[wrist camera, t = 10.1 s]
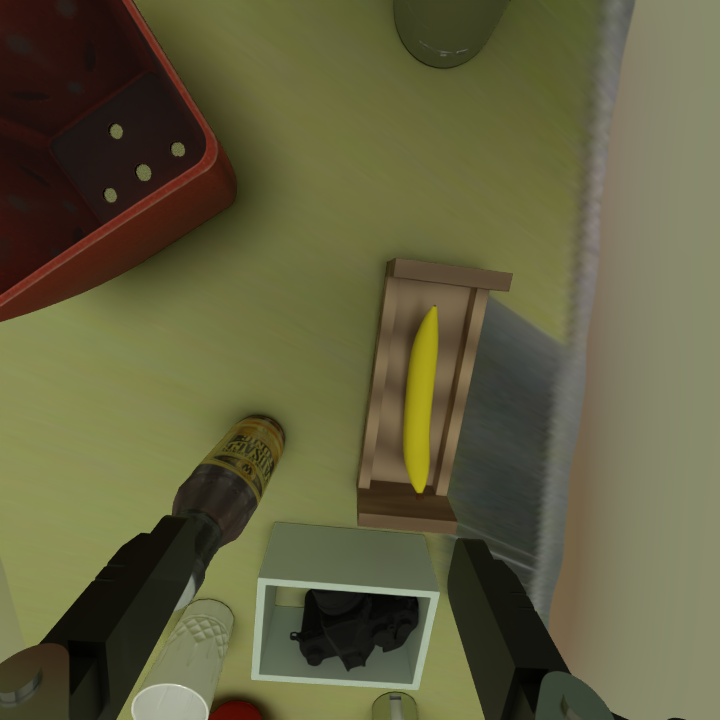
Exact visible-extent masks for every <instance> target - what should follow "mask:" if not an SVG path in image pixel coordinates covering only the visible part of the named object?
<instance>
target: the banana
mask: <svg viewBox="0 0 720 720" xmlns="http://www.w3.org/2000/svg"><path fill="white" fill-rule="evenodd" d="M437 356H438V312H437V306H436V305H434V306H432V307H431V309H430V310H429V312H428V313H427V314H426V315H425V317H424V319H423V321H422V323H421V325H420V328H419V330H418V332H417V334H416V337H415V340H414V343H413V347H412V350H411V356H410V362H409V369H408V377H407V386H406V397H405V410H404V426H403V453H404V461H405V466H406V470H407V473H408V476H409V479H410V482H411V484H412V485H413V487H414V489H415V491H416V492H417V495H416V500H418V501H422V500H424V497H423V494H422V493H423V490H424V488H425V486H426V483H427V479H428V475H429V466H430V423H431V410H432V400H433V391H434V383H435V375H436V366H437Z"/></svg>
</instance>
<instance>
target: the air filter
mask: <svg viewBox="0 0 720 720" xmlns="http://www.w3.org/2000/svg"><path fill="white" fill-rule="evenodd" d="M372 717H373V720H418V714H417V708H416V703H415V701H414V700H413V699H412V698H411V697H410V696H408V695H406V694H404V693H399V692H392V693H387V694H385V695H383V696H381V697H379V698H378V699H377V700H376V701H375V703H374V705H373V708H372Z"/></svg>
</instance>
